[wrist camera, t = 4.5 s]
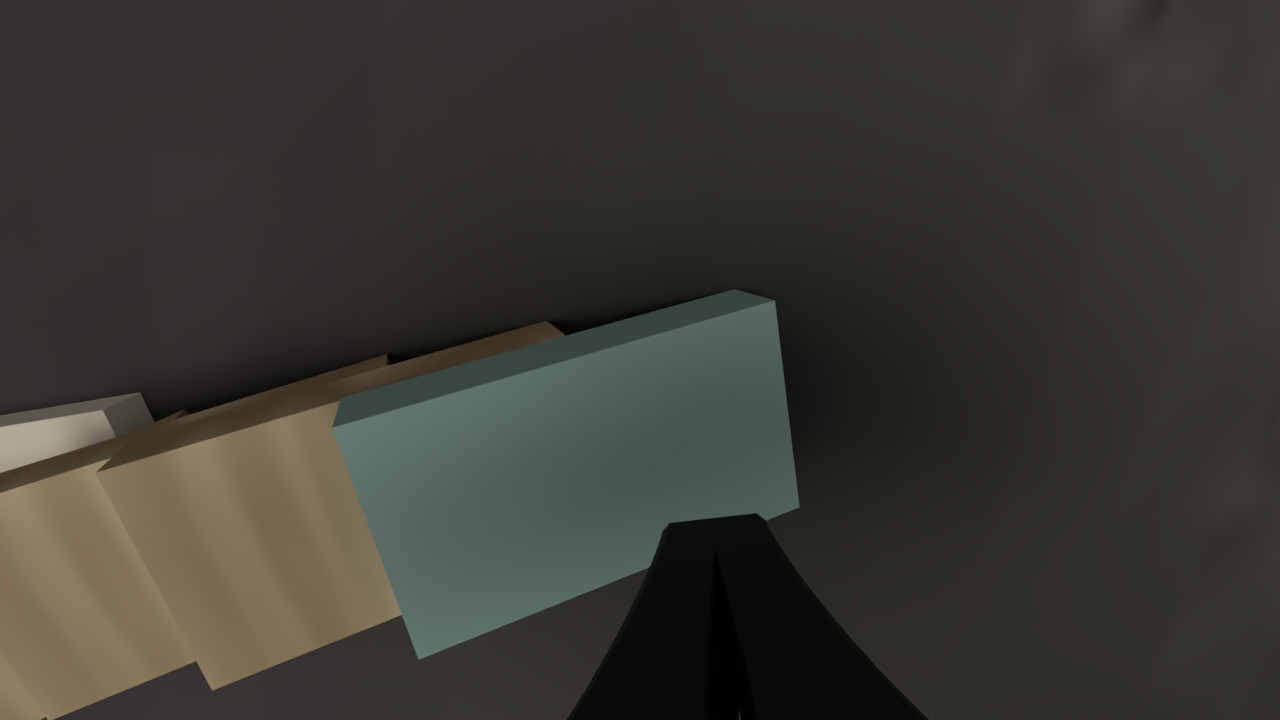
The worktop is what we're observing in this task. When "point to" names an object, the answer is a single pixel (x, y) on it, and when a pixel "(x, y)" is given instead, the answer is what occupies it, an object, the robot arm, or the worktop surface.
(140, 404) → the domino
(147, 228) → the worktop surface
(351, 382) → the domino
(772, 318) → the domino
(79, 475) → the domino
